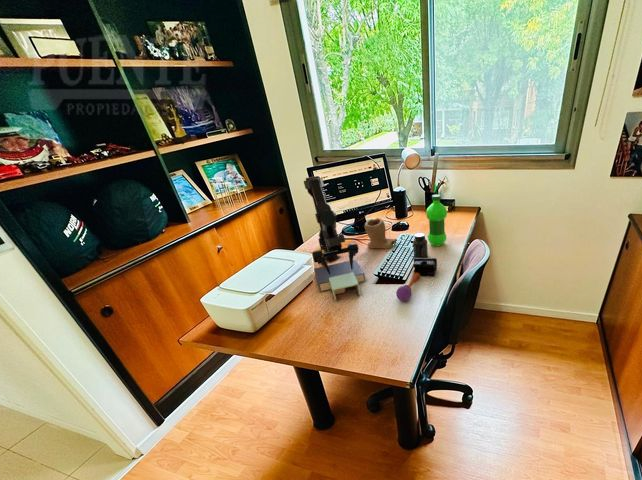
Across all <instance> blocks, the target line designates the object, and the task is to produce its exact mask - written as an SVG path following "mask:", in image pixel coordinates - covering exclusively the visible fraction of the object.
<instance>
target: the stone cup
mask: <svg viewBox="0 0 642 480" xmlns="http://www.w3.org/2000/svg"><path fill="white" fill-rule="evenodd" d="M364 229H365V233H366V234H367V236H368V238H369V242H368V243H367V248H371V249H390V248H393V247H394V246H393V244H394V243H395V242H396V241H397V242H398V239H397V238H387V237H386V223H385V221H384V220H383V219H381V218H379V217H377V218H371V219H369V220H368V221H366V222H365V223H364ZM397 242H396V243H397Z"/></svg>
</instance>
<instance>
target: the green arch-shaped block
mask: <svg viewBox="0 0 642 480" xmlns="http://www.w3.org/2000/svg"><path fill="white" fill-rule="evenodd" d="M329 281H330V285H331V289H330V290H331V292H332V295H333V298H334V301H336V302H337V301H338V300H337V296H336V295H337V294H335V290H339V289H343V288H347V287H351V286H355V290H356V291H357V293H358V295H359V296H361V289H360V283H358V281H357V279H356V277H355V275H354V273H353V272H352V273H348V274H343V275H339V276H335V277H330V278H329Z"/></svg>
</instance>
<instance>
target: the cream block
mask: <svg viewBox="0 0 642 480" xmlns="http://www.w3.org/2000/svg"><path fill="white" fill-rule="evenodd" d="M343 293H346V290H345V288H343V289H339V290H335V295H338V294H343Z"/></svg>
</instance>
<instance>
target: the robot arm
mask: <svg viewBox="0 0 642 480" xmlns="http://www.w3.org/2000/svg"><path fill="white" fill-rule="evenodd" d="M303 185H304V188H305V190H307V193H308V194H309V196H310V197H311V198H312V201H313V204H314V205H313V206H314V209H315V214H314V215H315V219H316V223H318V225H319V233H318V237H319V238H318V245H319V247H320V249H319V250H315V251H314V250H313V251H312V253H311V255H312V259H313V262H314V263H317V264H318V265H321V267H324V268H325V269H326V270H327V272H328V273H329V274H331V273H330V270H329V268H328V265H329V264H328V262H329V263H332V262H334V261H335V260H337V259H340V257H341V256H340V255H341V254H345V253H348V261H350V266H351V269H353V260H354V257H356V255H357V254H359V249H360V248H359V245H358V243H357V242H352V243H348V244H347V247H343V245H342V243H345V242H346V238H345V236H344V233H340V234H338V231H337V219H338V215H337V214H336V213H335V211H334V210H332V207H331V204H329V203H327V200H326V198H325V194H324V192H323V191H324V186H325V184H324V179H323V177H320V176H319V175H315V176H310V177H309V176H308V177H305V180H303Z"/></svg>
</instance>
